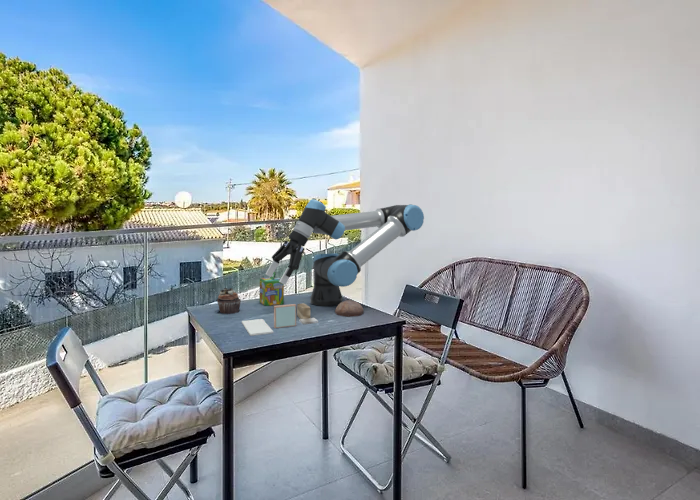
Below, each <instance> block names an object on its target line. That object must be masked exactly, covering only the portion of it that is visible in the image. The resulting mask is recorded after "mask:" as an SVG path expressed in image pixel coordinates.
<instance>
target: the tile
mask: <svg viewBox="0 0 700 500" xmlns="http://www.w3.org/2000/svg"><path fill="white" fill-rule="evenodd" d="M296 326H297V304H296V303H292V304H283V305H273V328H274V329H279V328H289V327H296Z"/></svg>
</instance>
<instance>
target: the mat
mask: <svg viewBox="0 0 700 500" xmlns="http://www.w3.org/2000/svg"><path fill="white" fill-rule="evenodd" d="M241 324H242V325H243V327H244V328H245V330H246V331H247V333H248V335H249V336H251V337H253V336H261V335H271V334H274V330H273V329H272V328H271V327H270V325H269V324H267V323H266V321H265V319H263V318H260V319H258V318H257V319H249V320H241Z"/></svg>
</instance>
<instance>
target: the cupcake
mask: <svg viewBox="0 0 700 500" xmlns="http://www.w3.org/2000/svg"><path fill="white" fill-rule="evenodd" d="M241 301H242V299H240V297H239V294H238V293H237V292H236V291H235V290H234V288H232V287H230V288H227V287H224V288H223V289H221V290H220V291H219V295H218V297H217V299H216V302H217V304H218V310H219V313H220V314H222V315H231V314H237V313H239V312H240V309H241V308H240V307H241Z"/></svg>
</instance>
